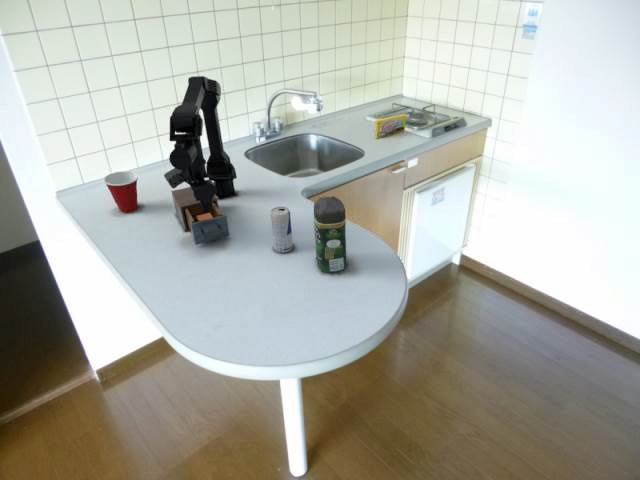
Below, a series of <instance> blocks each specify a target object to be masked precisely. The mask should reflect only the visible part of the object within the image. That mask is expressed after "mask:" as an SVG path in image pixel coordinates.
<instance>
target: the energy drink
mask: <svg viewBox="0 0 640 480" xmlns="http://www.w3.org/2000/svg"><path fill="white" fill-rule="evenodd" d="M291 219H292V218H291V211H290V209H289V207H287V206H275V207H274V208H272V209H271V210H270V222H271V231H272V240H273V249H274V250H275V251H276V252H278V253H288V252H290V251H291V250H293V247H294V243H293V230H292V220H291Z"/></svg>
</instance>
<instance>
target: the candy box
mask: <svg viewBox="0 0 640 480" xmlns="http://www.w3.org/2000/svg"><path fill="white" fill-rule="evenodd" d="M406 118H407V114H404V113H402V114H398V115H394V116H388V117H383V118H379V119H375V120H374V123H375V124H374V136H373V138H374V139H376V140H377V139H382V138H386V137H390V136H395V135H399V134H403V133H405V132H406V121H407V120H406Z"/></svg>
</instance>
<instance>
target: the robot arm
mask: <svg viewBox="0 0 640 480" xmlns="http://www.w3.org/2000/svg"><path fill="white" fill-rule="evenodd" d="M187 79H188V80H187V84H188V85H187V88H186V91H185V94H184V97H183V99H182V103H181V104H179V105H178V106H176V107H175V108H174V110H173V111H172V113H171V115H170V117H169V142H175V143H174V144H173V147H174V149H173V150H172V151H171V152H170V153H169V157H168V159H169V163H170V164H171V166H172V167H173V168H172V169H170V170H169V171H167V172H165V173H164V174H163V177H164V178H165V180H166V183H168V185H169V187H171V189H176V188H178V187H179V186H180V185H182V184H183V183H186V184H187V185H189V187H191V191H192V195H193V196H194V197H195V198H196V200H197V201H200V203H201V206H202V208H203V211H204V213H208V212H209V208H210V205H211V202H212V199H213V197H214V195H215V196H216V198H217V200H222V199H223V200H224V199H227V198H231V197H235V196H238V195H237V193H236V190H235V185H234V184H235V183H234V180H235V179H237V178H238V175H237V171H236V168H235V166H234V164H233V163H232V162H231V158H230V156H229V154H228V153H227V152H226V151H225V150H224V143H223V137H222V130H221V126H220V120H219V113H218V106H219V103H220V101H221V96H222V87H221V84H220V83H219V81H217V80H216V79H211V78H208V77H207V76H204V75H199V76H191V77H188V78H187ZM200 110H201V111H202V115H203V116H202V115H201V114H200ZM202 117H203V118H202ZM204 126H205V133H206V138H207V144H208V151H209V156H208V159H207V161H206V159H205V157H204V151H203V147H202V140H201V137H203V127H204ZM207 178H208V179H207Z"/></svg>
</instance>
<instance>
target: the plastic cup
mask: <svg viewBox="0 0 640 480" xmlns="http://www.w3.org/2000/svg"><path fill="white" fill-rule="evenodd" d="M102 179H103V180H102V182H103V183H104V184H105V185H106V187H107V189H108V191H109V192H110V194H111V196H112V199H113V200H114V203H115V204H116V206H117V208H118V210H119V211H120V212H121V213H123V214H125V213H127V214H128V213H132V212H135V211H136V210H138V208H139V207H138V206H139V205H138V187H137V186H138V179H139V174H138V173H137V172H135V171H130V170H121V171H115V172H111V173H108V174H106V175H104V177H103V178H102Z"/></svg>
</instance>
